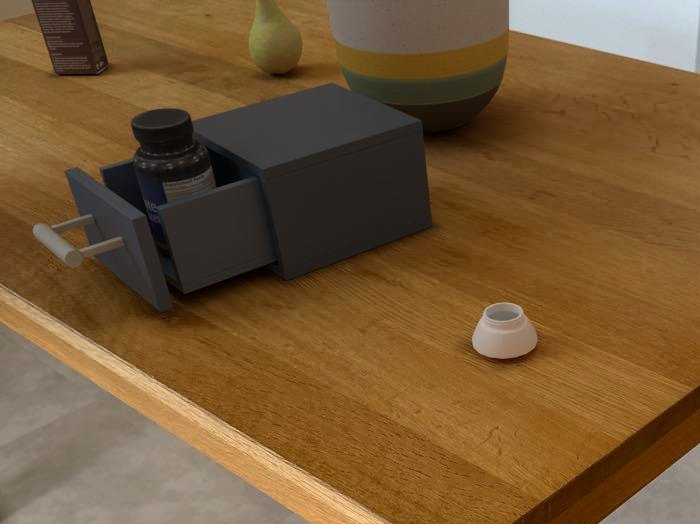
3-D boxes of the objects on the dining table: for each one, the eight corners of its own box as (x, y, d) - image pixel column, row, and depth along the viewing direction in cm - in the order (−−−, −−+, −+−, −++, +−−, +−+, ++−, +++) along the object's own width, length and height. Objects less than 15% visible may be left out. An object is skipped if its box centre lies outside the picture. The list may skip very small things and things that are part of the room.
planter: (548, 113, 117) (543, -102, 103) (444, 169, 105) (423, -65, 91) (418, 86, 126) (398, -116, 112) (309, 135, 114) (270, -84, 100)
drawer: (102, 333, 80) (68, 239, 74) (39, 275, 87) (5, 186, 82) (314, 256, 89) (298, 167, 84) (240, 210, 97) (221, 126, 92)
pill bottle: (152, 240, 90) (114, 112, 82) (220, 225, 92) (189, 99, 84) (167, 268, 85) (128, 136, 78) (238, 251, 87) (206, 121, 80)
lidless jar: (541, 359, 77) (532, 327, 80) (540, 325, 75) (531, 293, 78) (476, 366, 76) (469, 333, 80) (473, 331, 74) (467, 299, 78)
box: (111, 65, 136) (81, -36, 128) (97, 75, 133) (66, -27, 125) (68, 65, 136) (36, -35, 129) (53, 75, 133) (19, -27, 125)
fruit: (310, 64, 134) (293, -38, 126) (300, 82, 128) (282, -23, 120) (260, 66, 134) (240, -36, 126) (248, 84, 128) (226, -21, 120)
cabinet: (286, 281, 88) (262, 169, 81) (207, 228, 96) (180, 123, 90) (432, 226, 95) (422, 120, 89) (347, 182, 104) (332, 82, 97)
